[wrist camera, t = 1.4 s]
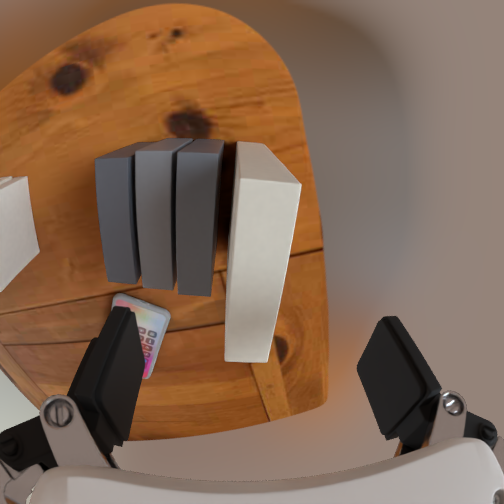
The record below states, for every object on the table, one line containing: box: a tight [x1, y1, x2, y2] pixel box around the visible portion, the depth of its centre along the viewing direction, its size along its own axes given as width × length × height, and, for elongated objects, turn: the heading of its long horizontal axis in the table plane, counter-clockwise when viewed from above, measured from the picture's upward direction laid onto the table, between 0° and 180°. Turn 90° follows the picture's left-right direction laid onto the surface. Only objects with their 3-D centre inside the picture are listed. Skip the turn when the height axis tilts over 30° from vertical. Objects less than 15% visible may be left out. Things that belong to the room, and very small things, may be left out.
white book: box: [225, 141, 301, 363], centre depth 19 cm, size 10×2×15 cm, turn 174°
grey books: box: [95, 138, 224, 297], centre depth 21 cm, size 10×8×9 cm
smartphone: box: [111, 293, 170, 379], centre depth 33 cm, size 7×1×15 cm
